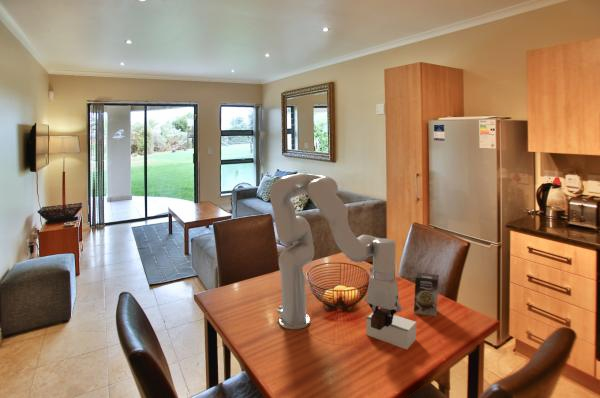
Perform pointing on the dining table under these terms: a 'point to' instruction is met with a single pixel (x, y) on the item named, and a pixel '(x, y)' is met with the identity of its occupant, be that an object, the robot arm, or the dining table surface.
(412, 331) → the step
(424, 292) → the coffee box
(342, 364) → the dining table surface
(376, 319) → the brick
